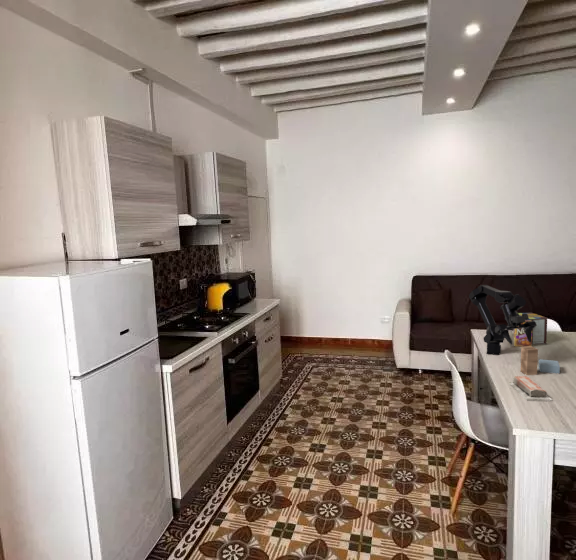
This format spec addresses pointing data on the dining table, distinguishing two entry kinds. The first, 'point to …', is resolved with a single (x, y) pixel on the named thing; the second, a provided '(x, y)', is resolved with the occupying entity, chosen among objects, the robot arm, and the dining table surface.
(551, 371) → the slate base block
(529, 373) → the walnut block
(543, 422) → the dining table surface
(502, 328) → the robot arm
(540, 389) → the packaged product
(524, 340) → the candy box
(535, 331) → the protein box
